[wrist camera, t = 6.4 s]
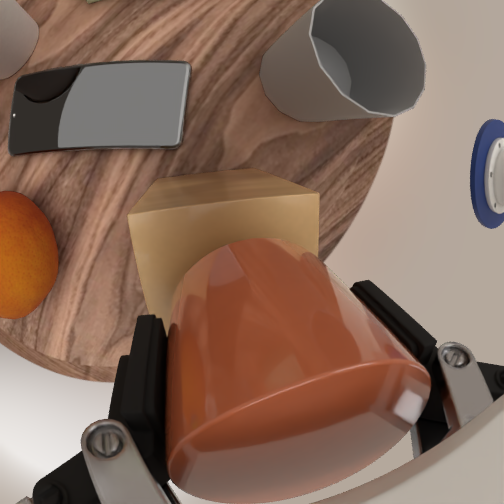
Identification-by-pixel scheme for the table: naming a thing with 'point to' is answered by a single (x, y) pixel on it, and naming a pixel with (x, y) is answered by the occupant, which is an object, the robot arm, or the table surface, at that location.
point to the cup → (345, 63)
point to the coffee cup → (15, 37)
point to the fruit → (24, 256)
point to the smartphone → (100, 107)
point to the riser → (212, 223)
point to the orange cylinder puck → (279, 377)
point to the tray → (91, 1)
